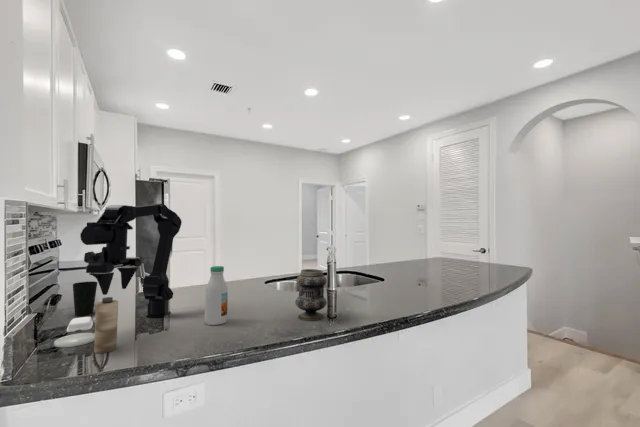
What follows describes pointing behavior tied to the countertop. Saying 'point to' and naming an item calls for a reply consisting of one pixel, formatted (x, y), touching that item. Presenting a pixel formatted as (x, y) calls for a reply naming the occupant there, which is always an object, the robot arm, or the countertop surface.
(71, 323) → the soap
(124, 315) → the countertop surface
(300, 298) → the apothecary jar
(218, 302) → the milk bottle
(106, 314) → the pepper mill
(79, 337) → the saucer
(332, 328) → the countertop surface
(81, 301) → the cup
